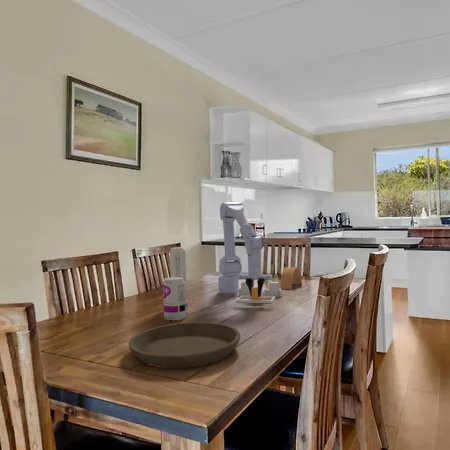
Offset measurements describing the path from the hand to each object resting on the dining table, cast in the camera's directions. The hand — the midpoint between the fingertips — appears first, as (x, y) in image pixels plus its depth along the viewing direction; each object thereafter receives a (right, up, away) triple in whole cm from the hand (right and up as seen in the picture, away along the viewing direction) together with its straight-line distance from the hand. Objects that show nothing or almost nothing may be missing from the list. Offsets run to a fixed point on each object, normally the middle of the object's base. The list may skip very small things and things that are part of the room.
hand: (255, 296), depth 172 cm
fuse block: (+3, -2, +11) cm, 11 cm away
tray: (0, -3, 0) cm, 2 cm away
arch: (+21, -1, +33) cm, 39 cm away
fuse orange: (0, -2, 0) cm, 2 cm away
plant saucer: (-24, -5, -59) cm, 64 cm away
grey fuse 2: (+9, -1, +9) cm, 13 cm away
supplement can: (-32, -4, -22) cm, 39 cm away
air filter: (-32, -4, -3) cm, 33 cm away
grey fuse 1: (-3, -2, +13) cm, 13 cm away
